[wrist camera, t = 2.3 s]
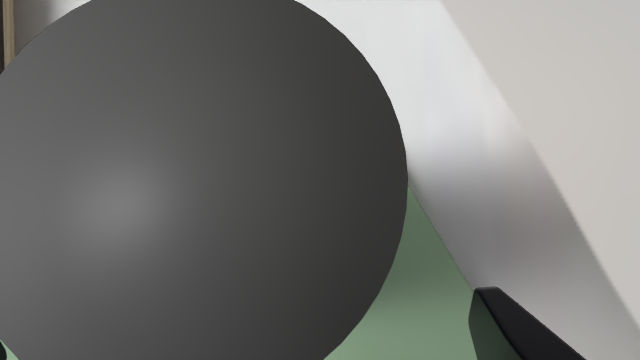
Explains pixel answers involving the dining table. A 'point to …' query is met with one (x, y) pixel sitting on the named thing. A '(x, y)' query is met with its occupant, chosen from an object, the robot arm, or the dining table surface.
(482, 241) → the dining table surface
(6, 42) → the hardcover book
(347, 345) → the putting mat
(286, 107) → the golf ball sleeve
